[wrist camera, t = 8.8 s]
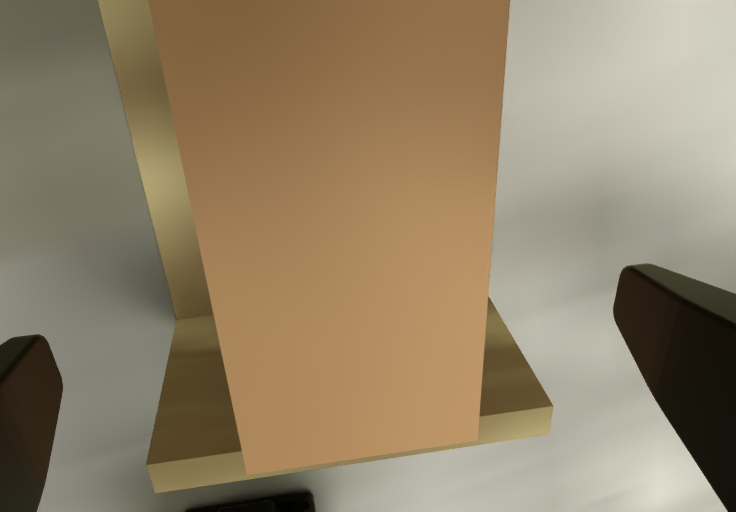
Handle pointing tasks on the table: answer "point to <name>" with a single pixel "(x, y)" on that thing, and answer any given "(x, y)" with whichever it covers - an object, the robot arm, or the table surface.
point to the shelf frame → (195, 314)
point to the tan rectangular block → (342, 212)
